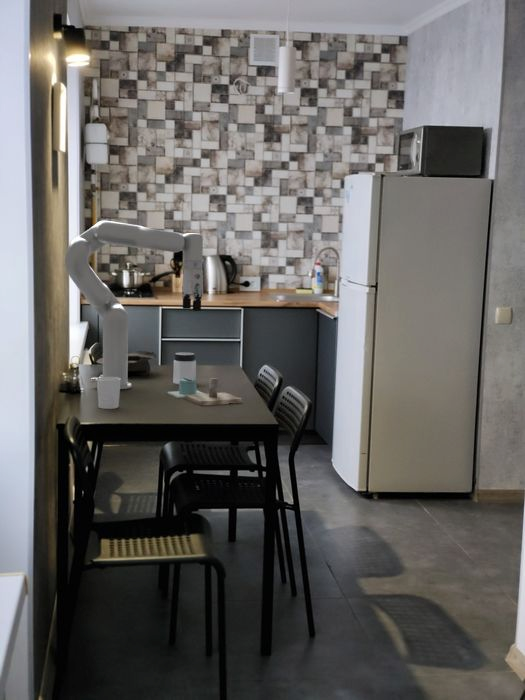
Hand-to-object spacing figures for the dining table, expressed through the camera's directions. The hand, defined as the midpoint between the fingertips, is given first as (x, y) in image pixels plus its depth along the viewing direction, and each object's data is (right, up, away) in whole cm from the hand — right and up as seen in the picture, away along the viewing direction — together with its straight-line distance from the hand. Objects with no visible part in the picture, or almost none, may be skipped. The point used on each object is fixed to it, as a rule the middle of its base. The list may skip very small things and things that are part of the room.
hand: (191, 309), depth 358 cm
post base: (+10, -34, -24) cm, 43 cm away
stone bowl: (-30, -26, +31) cm, 51 cm away
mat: (0, -32, -14) cm, 35 cm away
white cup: (-25, -36, -42) cm, 60 cm away
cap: (0, -32, -14) cm, 35 cm away
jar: (-4, -29, +11) cm, 32 cm away
